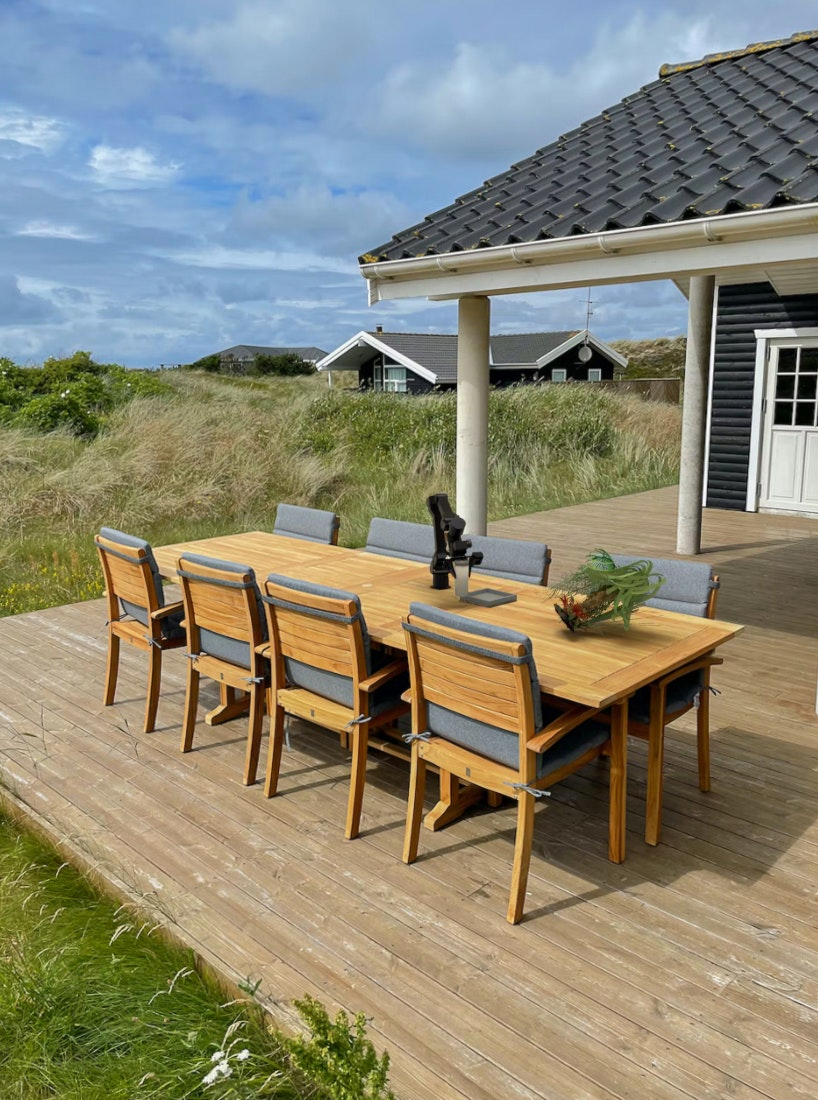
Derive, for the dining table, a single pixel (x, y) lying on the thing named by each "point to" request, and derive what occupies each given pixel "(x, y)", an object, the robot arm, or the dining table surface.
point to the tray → (489, 597)
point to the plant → (605, 593)
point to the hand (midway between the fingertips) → (462, 577)
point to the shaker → (461, 577)
